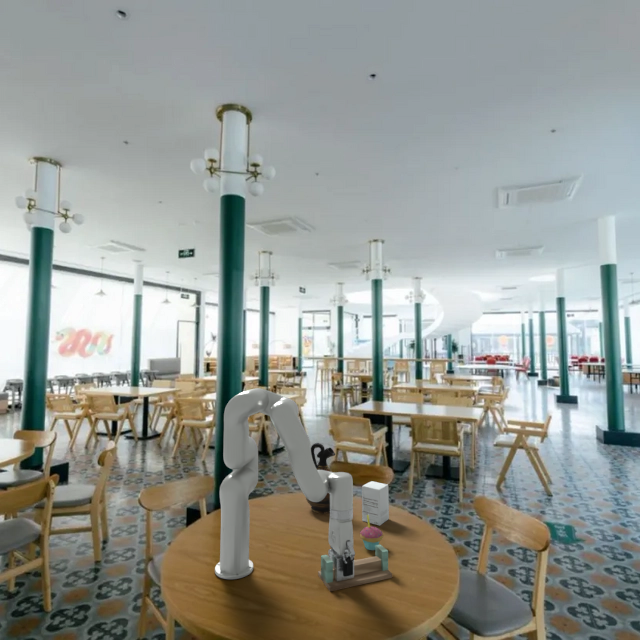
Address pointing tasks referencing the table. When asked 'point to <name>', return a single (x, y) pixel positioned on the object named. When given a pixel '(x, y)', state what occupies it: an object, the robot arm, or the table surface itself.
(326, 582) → the rail bed
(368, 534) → the cupcake
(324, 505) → the ceramic jug
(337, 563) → the grey sliding block
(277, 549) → the table surface
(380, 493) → the supplement box
